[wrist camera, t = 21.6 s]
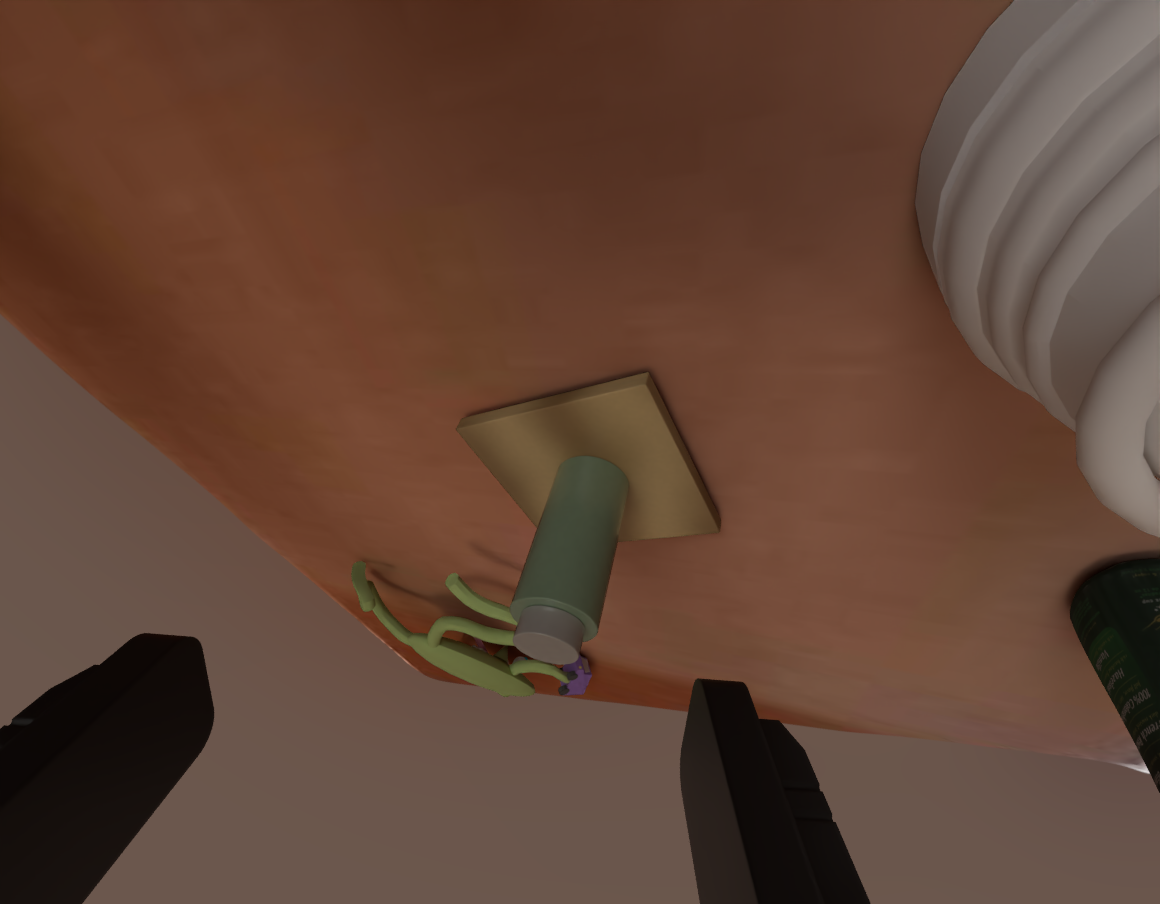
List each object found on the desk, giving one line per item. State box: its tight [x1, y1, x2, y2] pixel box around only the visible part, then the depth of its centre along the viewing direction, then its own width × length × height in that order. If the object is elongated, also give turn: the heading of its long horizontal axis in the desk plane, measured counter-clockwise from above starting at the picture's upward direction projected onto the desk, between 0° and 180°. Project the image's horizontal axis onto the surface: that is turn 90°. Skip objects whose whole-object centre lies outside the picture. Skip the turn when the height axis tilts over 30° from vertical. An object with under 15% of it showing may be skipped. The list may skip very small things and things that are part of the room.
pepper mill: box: [510, 456, 630, 665], centre depth 29 cm, size 4×4×10 cm
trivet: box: [456, 372, 721, 542], centre depth 33 cm, size 12×12×1 cm
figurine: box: [351, 561, 592, 697], centre depth 52 cm, size 18×27×6 cm
